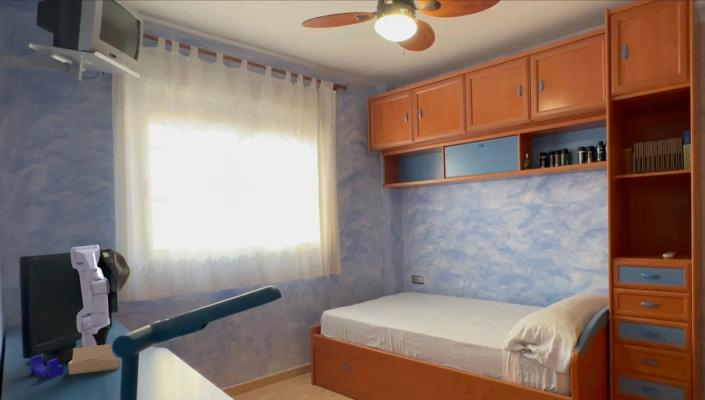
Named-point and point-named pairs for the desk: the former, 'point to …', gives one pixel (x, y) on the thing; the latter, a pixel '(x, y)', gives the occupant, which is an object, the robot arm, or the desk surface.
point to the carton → (93, 365)
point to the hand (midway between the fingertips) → (101, 347)
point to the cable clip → (48, 371)
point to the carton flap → (92, 352)
